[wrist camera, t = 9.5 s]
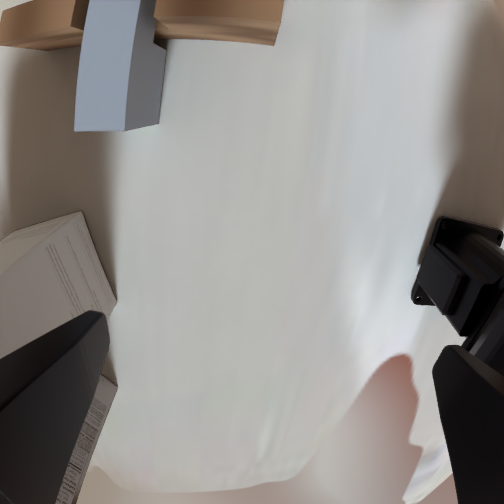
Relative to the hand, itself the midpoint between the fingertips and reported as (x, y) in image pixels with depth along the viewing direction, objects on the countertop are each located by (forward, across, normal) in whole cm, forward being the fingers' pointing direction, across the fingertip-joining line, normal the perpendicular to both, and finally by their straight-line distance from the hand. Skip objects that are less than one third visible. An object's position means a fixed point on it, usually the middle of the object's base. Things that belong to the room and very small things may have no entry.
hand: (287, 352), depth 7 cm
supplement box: (+12, +14, +6) cm, 20 cm away
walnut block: (+12, +8, -10) cm, 17 cm away
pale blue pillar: (+12, +8, -10) cm, 17 cm away
